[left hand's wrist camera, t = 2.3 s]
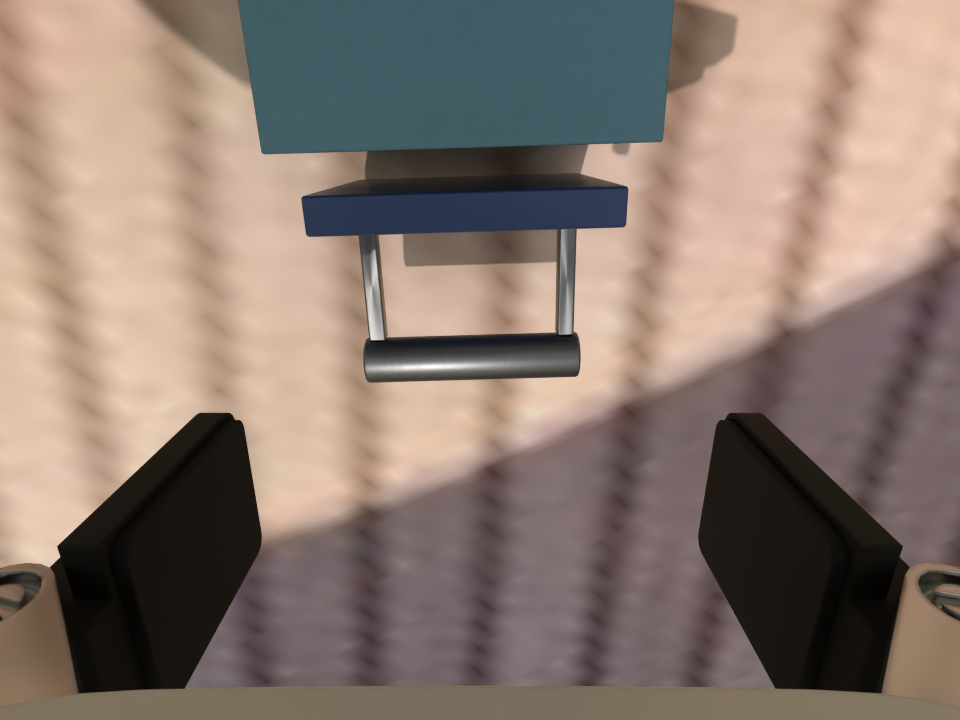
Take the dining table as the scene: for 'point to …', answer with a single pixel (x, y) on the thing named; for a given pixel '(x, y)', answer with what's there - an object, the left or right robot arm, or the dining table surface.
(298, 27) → the cabinet
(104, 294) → the dining table surface
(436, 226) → the drawer
